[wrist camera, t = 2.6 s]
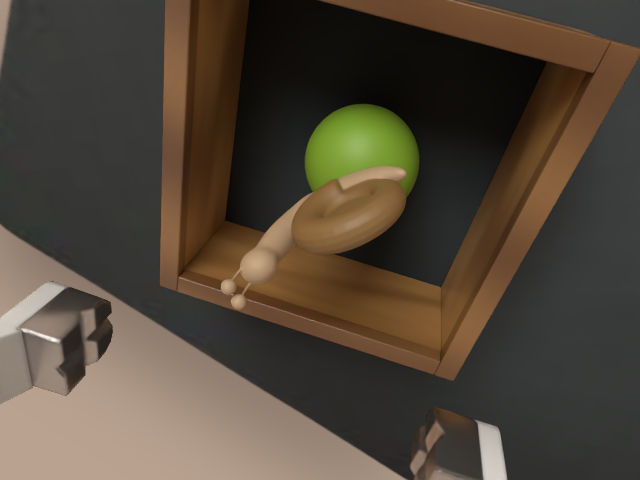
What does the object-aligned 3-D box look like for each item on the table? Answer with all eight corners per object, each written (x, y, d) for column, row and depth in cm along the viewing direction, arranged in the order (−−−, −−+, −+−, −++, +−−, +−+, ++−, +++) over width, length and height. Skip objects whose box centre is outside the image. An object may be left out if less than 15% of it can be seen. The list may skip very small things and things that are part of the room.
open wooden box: (237, -62, 20) (165, -75, 15) (586, 28, 19) (644, 49, 14) (211, 227, 29) (159, 286, 23) (450, 302, 28) (453, 381, 22)
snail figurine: (285, 126, 24) (178, 235, 14) (396, 73, 22) (360, 159, 12) (330, 210, 26) (264, 358, 16) (436, 170, 24) (436, 316, 14)
